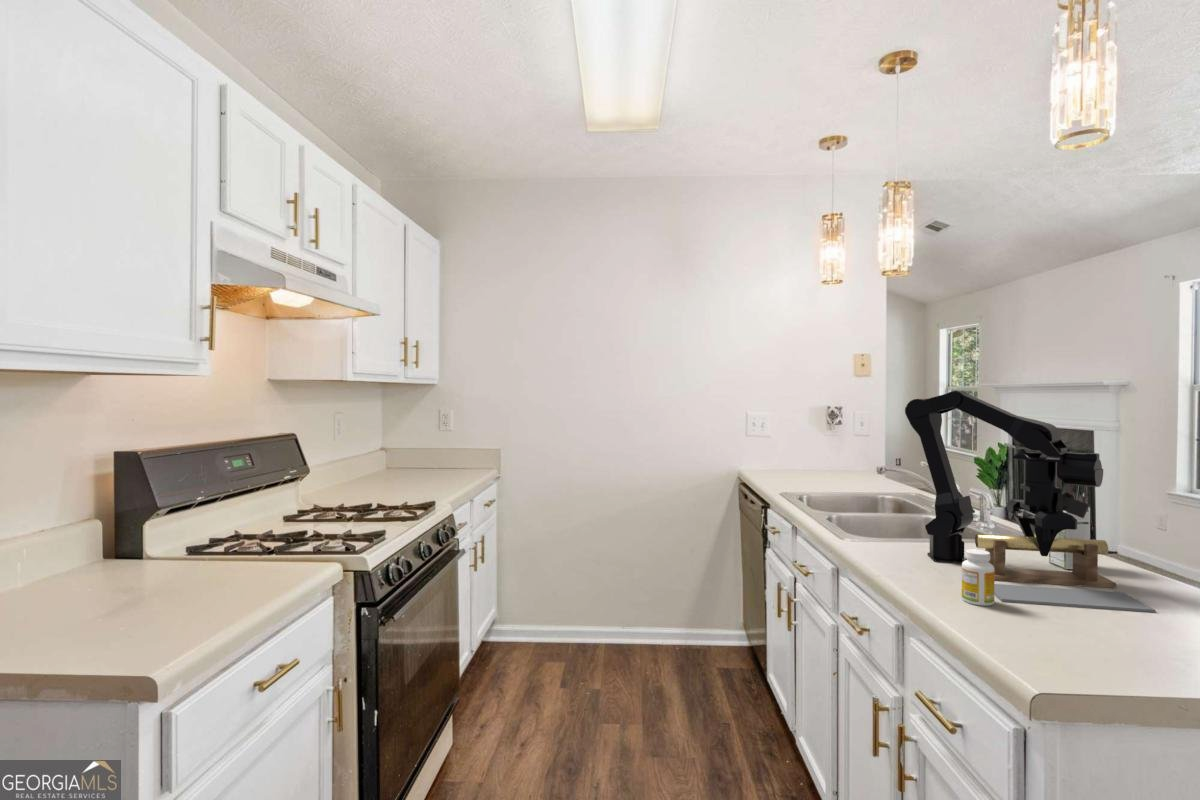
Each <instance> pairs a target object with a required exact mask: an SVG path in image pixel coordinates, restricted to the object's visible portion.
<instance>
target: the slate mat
mask: <svg viewBox="0 0 1200 800" xmlns="http://www.w3.org/2000/svg"><path fill="white" fill-rule="evenodd" d="M994 597H996V598H997V599H998V600H999V601H1000V602H1002V603H1015V602H1016V603H1018V604H1029V603H1030V604H1032V605H1045V606H1057V607H1058V606H1059V607H1060V606H1061V607H1071V606H1073V608H1074V607H1076V608H1085V607H1088V608H1089V609H1101V610H1114V611H1115V610H1116V611H1130V612H1141V613H1142V612H1144V613H1156V611H1157V610H1156V609H1155V608H1153V607H1151V606H1150V605H1148V604H1145V603H1144V602H1142V601H1140V600H1138V599H1137V598H1135V597H1133V596H1131V595H1129V594H1128V593H1126V592H1124V591H1109V590H1107V591H1106V590H1093V589H1079V588H1063V587H1047V586H1031V585H1018V584H1017V585H1015V584H1002V583H1001V584H1000V583H994ZM1030 604H1029V605H1030ZM1088 608H1087V609H1088Z"/></svg>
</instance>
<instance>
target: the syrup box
mask: <svg viewBox="0 0 1200 800" xmlns="http://www.w3.org/2000/svg"><path fill="white" fill-rule="evenodd" d="M1063 512H1065V513H1067V514H1070V515H1072V516H1073V517H1074V518H1075V519H1076V520H1077V529H1076V530H1072V529H1066V530H1062V531H1061V532H1059V533H1058V534H1057V535H1056V537H1055V538H1069V539H1089V540H1091V507H1090V506H1089V508H1088V510H1087V512H1086V514H1085V517H1084V518H1081V517H1078V516H1076V515H1074V514H1071V513H1068V512H1067V511H1064V510H1063ZM1048 563H1049V564H1052V565H1054V566H1057V567H1059V568H1062V569H1064V570H1067V569H1073V553H1063V552H1049V554H1048Z"/></svg>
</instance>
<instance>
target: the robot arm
mask: <svg viewBox="0 0 1200 800" xmlns="http://www.w3.org/2000/svg"><path fill="white" fill-rule="evenodd" d="M904 408H905V409H904V413H905V414H904V415H906V418H907V420H908V422H909V425H910V426H911V428H912V429H913V430H914V431H915V433H916V434H917V435H918V436H919V439H920V442H921V446H922V449H923V452H924V455H925V458H926V459H925V460H926V463H927V467H928V469H929V473H930V475H931V476H930V477H931V480H932V482H933V483H932V484H933V487H934V490H935V494H936V495H935V502H934V512H935V517H934V518H933V519H932V520H931V521H929V522H928V523H927V524H925V525H924V526H925V531H926V532H927V533H926V534H927V535H929V552H927V556H928V557H929V558H930V559H931V560H933V562H938V563H939V562H941V563H955V564H956V563H957V564H958V563H959V564H962V563H963V562H964V561H965V560H964V559H965V542H964V540H963V536H962V534H963V533H964V532H965V530H966V527H967V528H968V526H970V525H971V524H972V523H973V521H974V513H976V511H975V509H974V508H973V506H972V499H971V497H970V495H966V496H963V494H962V493H961V492H960V491H959V488H958V487H957V483H956V479H955V476H954V474H953V470H952V466H951V462H950V460H949V457H948V453H947V450H946V447H945V443H944V439H943V437H942V436H943V435H942V433H941V431H942V430H941V429H942V425H943V416H942V414H946V413H949V412H951V411H954V410H956V409H957V410H960V411H961V412H964V413H965V414H968V415H970V416H972V417H975V418H976V419H979V420H980V421H982V422H984V423H987V424H989V425H991V426H994V427H995V428H998V429H1000V430H1002V431H1003V432H1006V434H1007V435H1009V436H1010V437H1011V438H1012V439H1014V441H1016V442H1018V443H1019V444H1021V445H1022V446H1023V448H1021V449H1020V450H1019V451H1018V452H1017V453H1015V454H1014V455H1012V459H1015V460H1023V461H1024V462H1023V483H1020V484H1019V488H1020V489H1021V490H1023V499H1016V498H1014V499H1010V500H1009V501H1008V502H1007V503H1006V512H1009V513H1010V514H1015V513H1016V512H1017V515H1013V518H1014V519H1015V520H1016V523H1017V524H1018V526H1019V529H1020V530H1021V532H1022V533H1023V536H1027V537H1034V538H1035V540H1036V543H1037V546H1038V549H1039V551H1038V552H1039V553H1040V556H1041V557H1049V551H1050V549H1051V546H1052V544H1053V541H1054V539H1055V537H1056V535H1057V534H1058V533H1059V532H1061V531H1062V530H1066V529H1072V530H1076V529H1077V520H1076V519H1075V518H1074V517H1073V516H1072V515H1070V514H1067V513H1065V512H1063V510H1064V511H1067V512H1068V513H1071V514H1074V515H1076V516H1078V517H1081V518H1084V517H1085V514H1086V512H1087V510H1088V508H1089V507H1090V504H1089V503H1086V502H1083V501H1081V500H1077V499H1074V495H1073V494H1072V493H1069V492H1067V491H1064V490H1062V488H1061V487H1057V477H1058V479H1059V480H1060V481H1062V482H1063V483H1064V484H1065V485H1072V486H1073V485H1075V486H1085V487H1095V488H1100V487H1101V486H1102V483H1103V478H1104V468H1103V465H1102V461H1101V460H1100V459H1101V458H1100V453H1096V452H1089V453H1088V452H1087V453H1085V452H1084V453H1082V452H1072V450H1071V449H1070V448H1069V447H1068V446H1067V444H1066V443H1065V442H1064V441H1063V439H1062V438H1061V433H1060V431H1059V428H1057V427H1056V425H1054V424H1051V423H1049V422H1044V421H1041V420H1037V419H1035V418H1034V419H1033V418H1028V417H1024V416H1020V415H1017V414H1014V413H1011V412H1010V411H1008V410H1005V409H1003V408H1001V407H998V406H995V405H993V404H991V403H989V402H988V401H987V402H986V401H985V400H982V399H980V398H978V397H976V396H974V395H971V394H969V393H968V392H966V391H965V390H951V391H949V392H947V393H944V394H941V395H936V396H932V397H929V398H914V399H912V400H910V401H908V403H907V404H906V406H905V407H904ZM1029 450H1031V451H1029ZM1037 451H1039V452H1037Z"/></svg>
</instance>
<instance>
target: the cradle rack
mask: <svg viewBox="0 0 1200 800" xmlns="http://www.w3.org/2000/svg"><path fill="white" fill-rule="evenodd" d="M1005 548H1006V541H1004V540H993V549H988V548H984V551H987V552H989V553H990V561H989V563H990V564H992V565H993V566H994V581H999V580H1000V581H1001V582H1014V581H1021V582H1020V583H1029V582H1033V584H1048V585H1060V584H1062V585H1063V586H1076V585H1081V586H1080V587H1092V586H1097V587H1096V588H1107V587H1116V588H1117V582H1115V581H1113V580H1111V579H1109V578H1108V577H1105V576H1104V575H1102V574H1100V573H1098V569H1099V568H1098V565H1099V563H1098V560H1099V558H1098V557H1099V554H1098V546H1097V545H1093V544H1084V554H1082V553H1073V570H1072V571H1066V570H1065V571H1064V570H1063V571H1062V570H1047V569H1046V570H1045V569H1031V568H1029V569H1028V568H1012V567H1006V549H1005Z"/></svg>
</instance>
